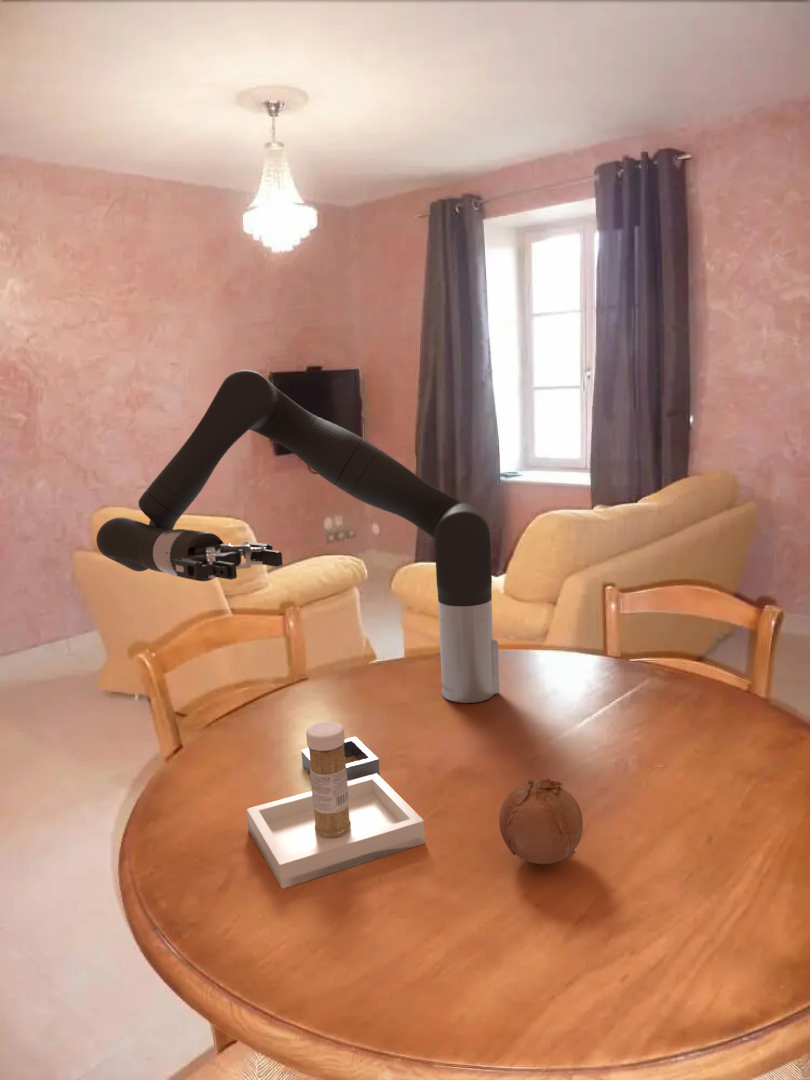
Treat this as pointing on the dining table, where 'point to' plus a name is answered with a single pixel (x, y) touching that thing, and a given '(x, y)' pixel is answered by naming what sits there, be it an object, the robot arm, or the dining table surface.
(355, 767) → the metal collar
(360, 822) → the plastic tray
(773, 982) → the dining table surface
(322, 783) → the sprinkles bottle
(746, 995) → the dining table surface
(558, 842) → the onion
